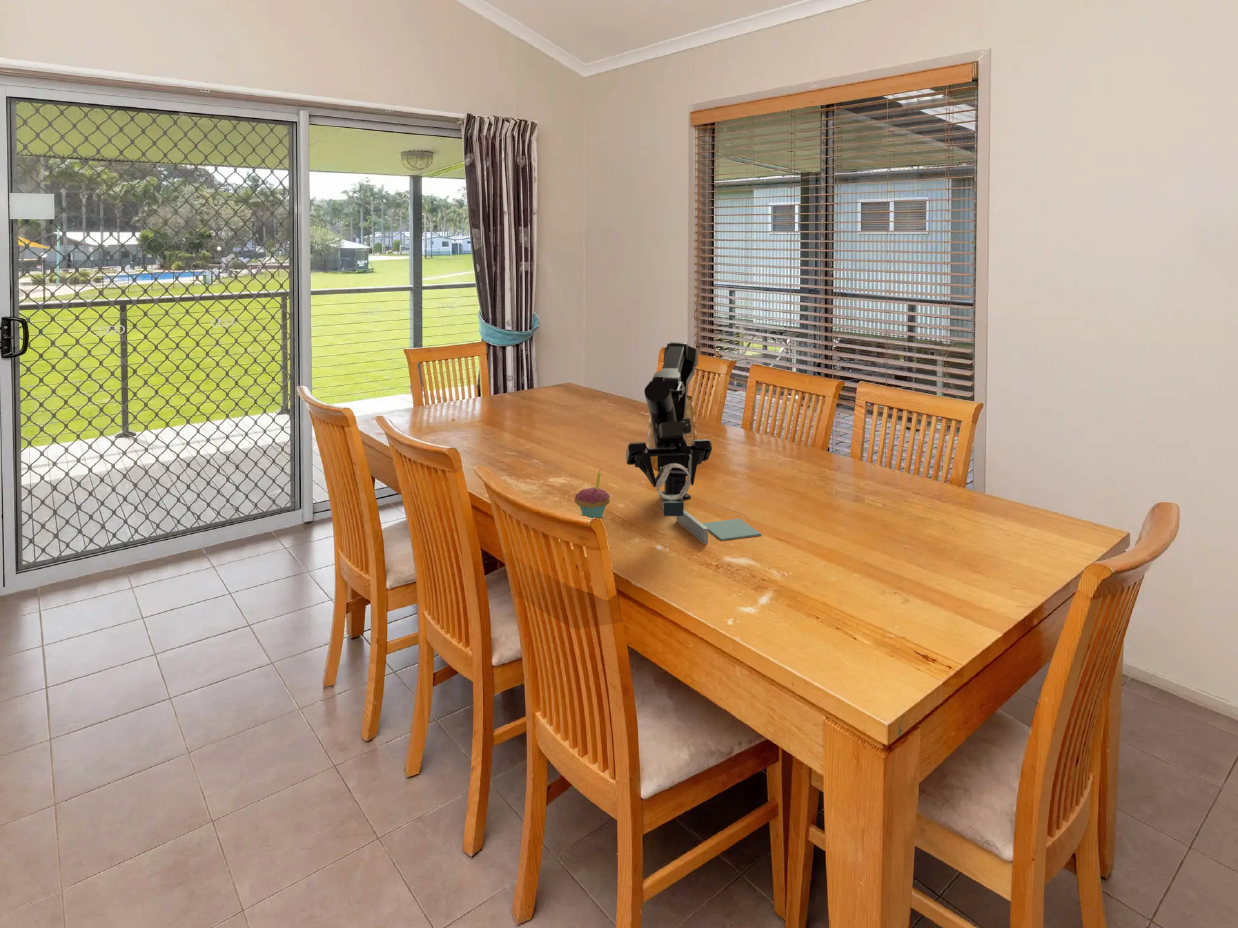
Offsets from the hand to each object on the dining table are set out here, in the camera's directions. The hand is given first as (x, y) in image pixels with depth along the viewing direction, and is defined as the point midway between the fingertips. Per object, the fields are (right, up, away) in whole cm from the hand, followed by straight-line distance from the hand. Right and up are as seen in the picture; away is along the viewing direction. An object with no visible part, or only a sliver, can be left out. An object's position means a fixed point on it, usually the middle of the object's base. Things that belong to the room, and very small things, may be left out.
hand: (673, 485), depth 181 cm
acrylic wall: (+5, -11, +10) cm, 15 cm away
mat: (+14, -11, +11) cm, 21 cm away
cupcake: (-19, -8, +21) cm, 29 cm away
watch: (0, -6, +3) cm, 7 cm away
